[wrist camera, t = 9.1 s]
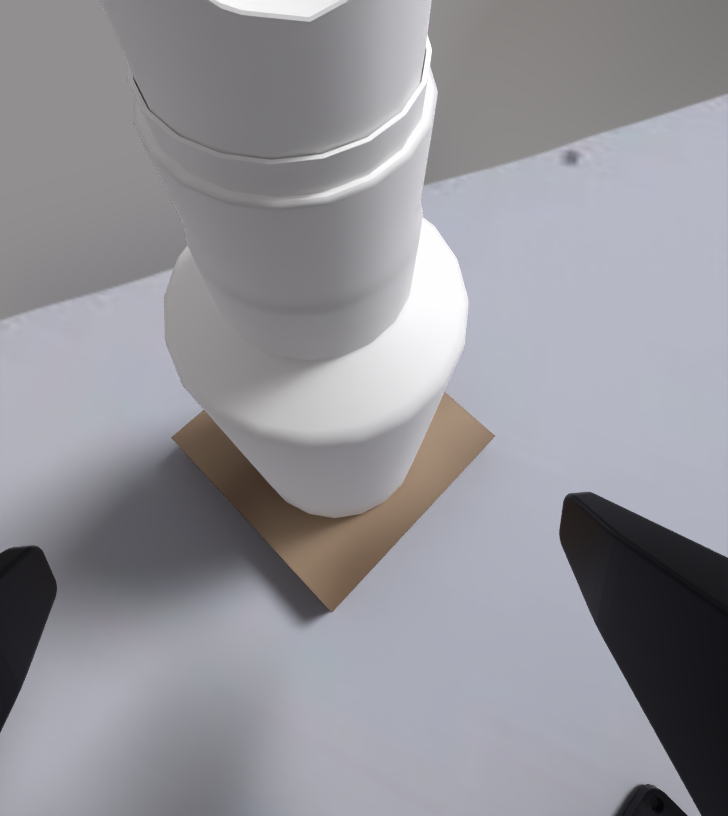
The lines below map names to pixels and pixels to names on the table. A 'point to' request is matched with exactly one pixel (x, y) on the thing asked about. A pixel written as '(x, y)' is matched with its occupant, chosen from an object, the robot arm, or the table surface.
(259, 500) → the brown flat square block
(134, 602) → the table surface
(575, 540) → the robot arm
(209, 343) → the spray bottle
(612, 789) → the table surface
